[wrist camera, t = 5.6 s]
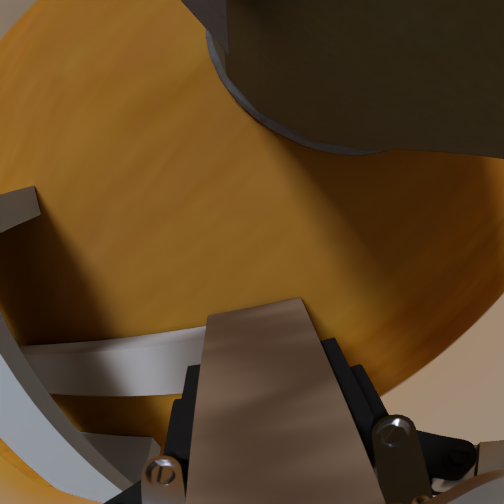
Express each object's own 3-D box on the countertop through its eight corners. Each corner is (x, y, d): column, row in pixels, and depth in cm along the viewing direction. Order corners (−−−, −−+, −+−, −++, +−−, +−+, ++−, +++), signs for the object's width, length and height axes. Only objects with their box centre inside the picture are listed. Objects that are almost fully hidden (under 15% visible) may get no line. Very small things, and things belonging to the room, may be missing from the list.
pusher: (300, 297, 12) (397, 535, 2) (308, 365, 13) (368, 554, 4) (18, 338, 12) (-65, 449, 3) (48, 388, 13) (-10, 500, 4)
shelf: (34, 185, 10) (-55, 212, 4) (160, 447, 16) (150, 511, 10) (-40, 229, 10) (-99, 259, 5) (77, 439, 16) (57, 489, 10)
